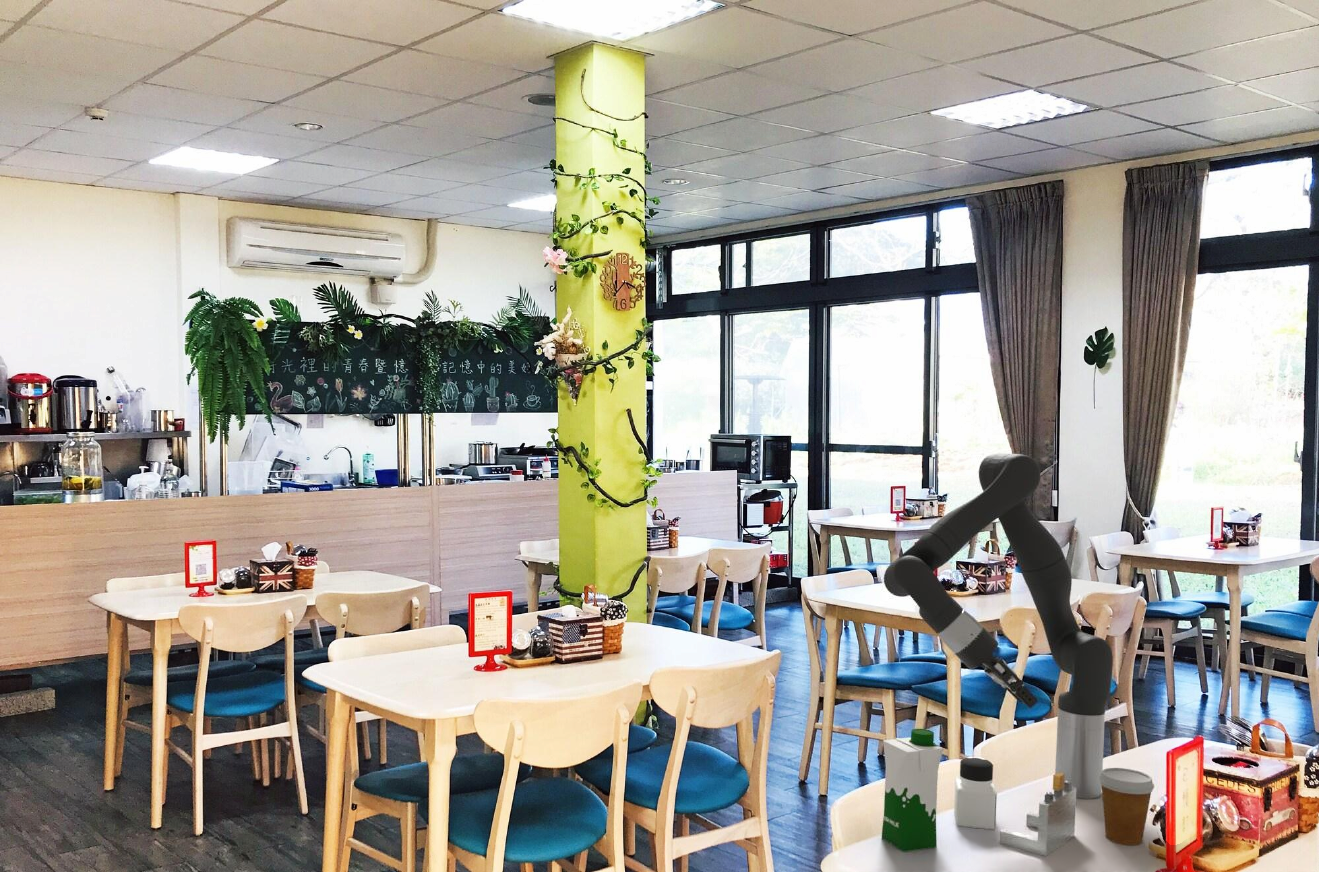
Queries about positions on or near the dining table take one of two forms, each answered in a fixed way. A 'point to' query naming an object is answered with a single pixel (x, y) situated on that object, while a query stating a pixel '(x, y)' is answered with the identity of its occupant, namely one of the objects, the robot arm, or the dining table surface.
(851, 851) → the dining table surface
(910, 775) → the milk carton
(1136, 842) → the disposable coffee cup
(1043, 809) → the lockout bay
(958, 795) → the medicine bottle
